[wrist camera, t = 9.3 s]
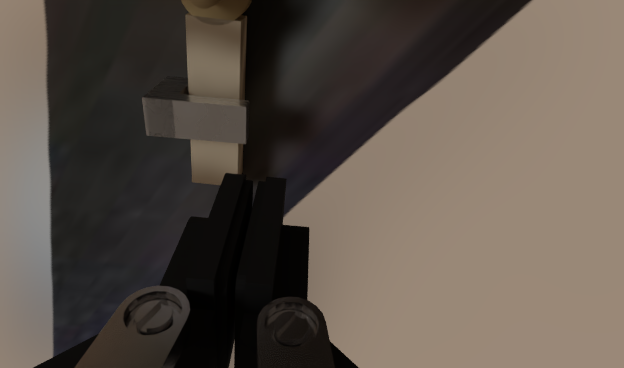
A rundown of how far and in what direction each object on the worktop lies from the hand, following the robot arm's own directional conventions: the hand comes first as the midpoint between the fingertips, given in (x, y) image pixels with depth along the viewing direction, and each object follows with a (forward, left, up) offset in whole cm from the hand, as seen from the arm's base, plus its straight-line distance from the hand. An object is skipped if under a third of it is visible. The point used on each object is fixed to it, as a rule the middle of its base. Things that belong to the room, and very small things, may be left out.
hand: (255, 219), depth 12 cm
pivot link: (+3, -6, -25) cm, 26 cm away
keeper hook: (+5, -7, -25) cm, 27 cm away
